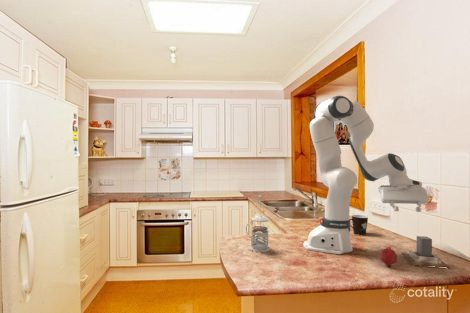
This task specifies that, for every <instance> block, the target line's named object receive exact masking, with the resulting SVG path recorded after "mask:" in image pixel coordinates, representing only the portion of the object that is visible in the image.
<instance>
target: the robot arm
mask: <svg viewBox="0 0 470 313" xmlns="http://www.w3.org/2000/svg"><path fill="white" fill-rule="evenodd" d="M339 120H341V121H342V122H343V123H344V124H345V125H346V127H347V129H348V131H349V134H350V136H349V138H348V142H349V146H350V148H351V151H352V153H353V155H354V157H355V160H356V162H357V165H358V167H359V170H360V173H361V175H362V177H363V178H364V179H365V180H366V181H368V182H375V181H377V180H379V179H381V178H385V177H388V183H389V184H388V185H384V184H383V185H379V187H378V188H377V189H378V192H379V194H380V196H379V197H380V201H381V203H382V204H389V206H390V207H391V208H393V211H394V212H399V210H400V209H399V206H396V204H402V205H403V204H406V205H407V204H408V205H409V204H413V205H414V204H416V207H415V212H421V211H422V208H421V207H422V205H426V204H427V203H428V202H429V200H430V197H429V195H428V192H427V190H426V188H425V187H423V182H421V181H420V180H416V179H412V178H409V176H408V174H407V171H408V170H407V168H406V166H405V164H404V162H403V159H402V158H401V157H400V156H399V155H396V154H395V153H386V154H384V155H382V156H379V157H378V158H375V159H373V160H368V159H367V157H366V155H365V151H364V150H363V147H362V146H363V144H364V143H365V142H366V140H367V139H368V138H370V136H371V135H372V133H373V131H374V128H375V125H374V124H375V123H374V122H373V119H372V118H371V116H370V115H369V114H368V112H367V111H366V109H364V107H363V106H362V105H361V104H360V103H359V102H357V101H356V100H350V99H349V98H347V97H346V96H344V95H336V96H333V97H331V98H327V99H326V100H325V99H324V100H323V101H322V102H319V103H318V104H317V105H316V106H315V108H314V111H313V119H312V120H310V122H309V132H310V137H311V141H312V143H313V147H314V150H315V154H316V156H317V160H318V166H319V173H320V174H319V178H320V181H321V182H322V184H323V185H324V186H325V187H327V188H328V191H327V196H326V199H325V200H324V217H323V216H320V217H319V218H318V220H319V222H320V225H318V226H316V227H315V228H314V229H312V230H311V231H310V232H309V234H308V236H307V239H306V240H304V241H303V248H304V249H305V250H307V251H314V252H321V253H327V254H332V255H333V254H335V255H343V254H346V253H351V252H353V249H354V248H353V247H352V246H353V245H352V241H351V233H350V232H351V227H350V225H351V220H350V219H351V218H350V206H351V204H350V203H351V198H352V194H353V191H354V190H353V189H354V188H355V187H356V186H357V183H358V177H357V174H356V172H354V170H352V169H351V168H348V167H345V166H343V165H342V160H341V159H342V158H341V157H342V156H341V155H342V150H341V146H340V143H339V140H338V138H337V137H338V136H337V134H336V132H335V129H334V124H335V123H334V122H336V121H339Z"/></svg>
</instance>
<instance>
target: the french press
mask: <svg viewBox="0 0 470 313" xmlns="http://www.w3.org/2000/svg"><path fill="white" fill-rule="evenodd" d="M258 199H259V210H260V211H259V213H261V199H263V195H258ZM251 220H252V221H250V222H248V223H247V224H246V226H245V233H246V235H247V236H248V237H249V238H250V242H251V243H250V244H251V245H250V247H249V250H250V249H251V250H250V251H252V250H253V251H252V252H256V251H257V253H265V252H268V251H270V250H271V248H270V247H269V230H268V226H261V225H257V226H256V225H255V226H253V227H252V231H251V235H250V234H249V233H248V226H249V224H251V225H253V224H254V223H253V222H257V223H258V222H259V223H267V222H269V218H268V217H266V216H263V215H255V216H253V217H251Z"/></svg>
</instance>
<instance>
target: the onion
mask: <svg viewBox="0 0 470 313" xmlns="http://www.w3.org/2000/svg"><path fill="white" fill-rule="evenodd" d="M397 255H398V254H397V253H396V252H395V250H393V249H392V247H391V246H390V245H389V246H387V247H386V248H384V249H383V250H381V253H380V257H379V258H380V260H381V262H383V264H384V265H386V266H387V267H391V266H392V265H394V264H396V263H397V262H398V256H397Z"/></svg>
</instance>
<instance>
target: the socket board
mask: <svg viewBox="0 0 470 313" xmlns="http://www.w3.org/2000/svg"><path fill="white" fill-rule="evenodd" d="M402 255H403V256H404V257H405V258H406V259H407V260H408V261H409V262H410V263H411V264H412V265H421V266H420V267H423V266H435V267H447V268H449V269H450V266H449V265H448V264H447V263H445V262H444V261H443V260H442V259H441V258H440V257H439V256H438V255H436V254H435V253H434V252H432V257H422V256H418V255H417V250H412V249H411V250H409V249H408V252H401V256H402ZM403 256H402V257H403ZM404 257H403V258H404ZM405 258H404V259H405ZM406 259H405V260H406ZM407 260H406V261H407ZM408 261H407V262H408ZM409 262H408V263H409ZM410 263H409V264H410ZM411 264H410V265H411ZM412 265H411V266H412Z"/></svg>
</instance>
